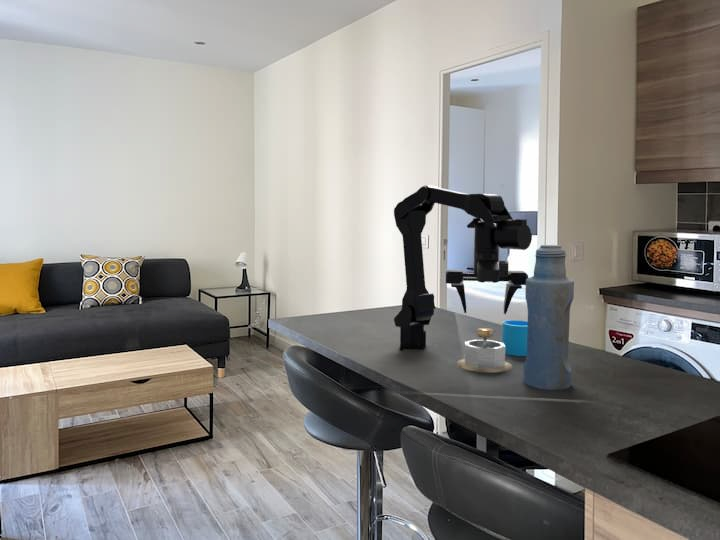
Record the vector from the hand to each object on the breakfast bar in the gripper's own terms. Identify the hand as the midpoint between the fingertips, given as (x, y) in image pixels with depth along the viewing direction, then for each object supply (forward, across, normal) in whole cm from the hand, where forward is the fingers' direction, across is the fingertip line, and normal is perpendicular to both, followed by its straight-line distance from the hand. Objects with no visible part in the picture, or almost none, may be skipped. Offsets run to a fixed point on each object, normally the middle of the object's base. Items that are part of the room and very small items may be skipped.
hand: (484, 313), depth 133 cm
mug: (+13, +9, +16) cm, 22 cm away
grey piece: (+12, 0, +1) cm, 12 cm away
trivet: (+13, 0, 0) cm, 13 cm away
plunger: (+11, 0, 0) cm, 11 cm away
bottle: (+13, +12, -13) cm, 22 cm away
